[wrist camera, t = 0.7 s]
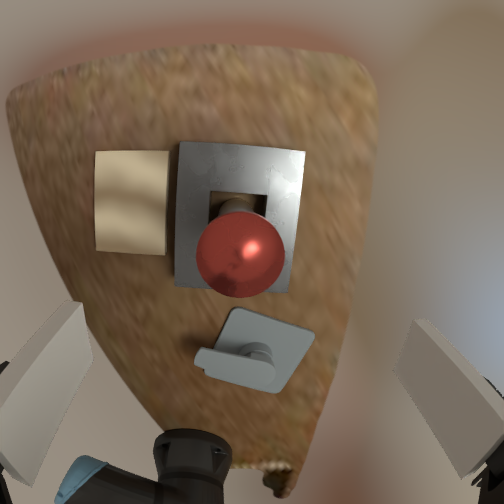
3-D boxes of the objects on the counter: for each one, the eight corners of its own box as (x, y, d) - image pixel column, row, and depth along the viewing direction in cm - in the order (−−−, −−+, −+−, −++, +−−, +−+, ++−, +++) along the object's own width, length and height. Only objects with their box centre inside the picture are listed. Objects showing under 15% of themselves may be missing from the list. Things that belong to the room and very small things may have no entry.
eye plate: (283, 282, 37) (287, 292, 34) (178, 276, 36) (174, 286, 33) (298, 152, 33) (305, 151, 30) (184, 142, 31) (180, 141, 28)
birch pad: (166, 252, 35) (164, 255, 34) (99, 247, 34) (96, 250, 33) (170, 151, 31) (168, 150, 30) (99, 151, 31) (95, 151, 29)
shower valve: (212, 317, 32) (326, 352, 35) (214, 295, 38) (315, 330, 40) (181, 389, 36) (282, 415, 38) (185, 364, 41) (277, 390, 44)
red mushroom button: (259, 242, 35) (279, 299, 21) (208, 238, 35) (195, 294, 21) (264, 191, 34) (290, 217, 19) (211, 187, 33) (197, 210, 19)
